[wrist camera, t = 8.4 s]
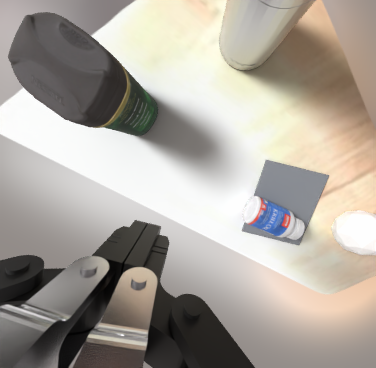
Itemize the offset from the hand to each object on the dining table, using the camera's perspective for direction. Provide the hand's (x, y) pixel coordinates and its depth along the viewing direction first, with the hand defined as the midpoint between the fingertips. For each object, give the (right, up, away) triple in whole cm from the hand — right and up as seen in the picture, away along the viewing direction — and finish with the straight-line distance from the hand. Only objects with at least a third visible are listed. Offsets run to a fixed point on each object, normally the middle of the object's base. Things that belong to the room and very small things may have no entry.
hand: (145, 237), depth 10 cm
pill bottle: (+13, -1, +22) cm, 26 cm away
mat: (+21, -1, +25) cm, 33 cm away
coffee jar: (-8, +17, +23) cm, 29 cm away
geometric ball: (+33, -5, +25) cm, 42 cm away
